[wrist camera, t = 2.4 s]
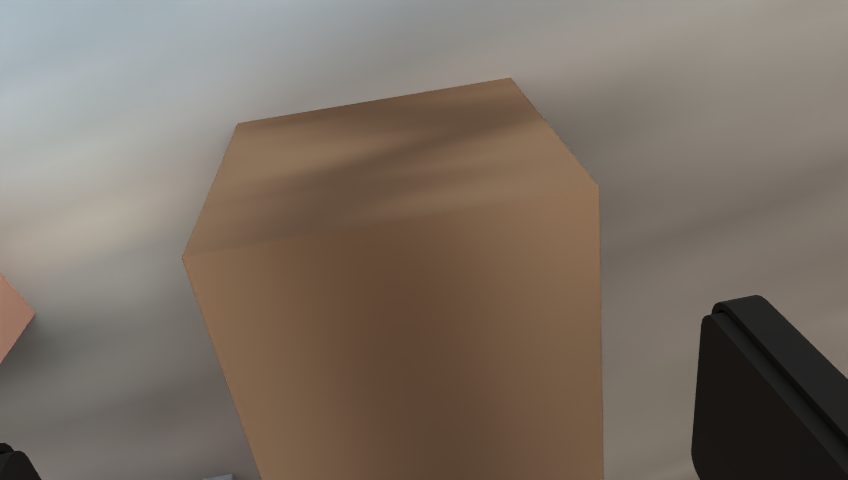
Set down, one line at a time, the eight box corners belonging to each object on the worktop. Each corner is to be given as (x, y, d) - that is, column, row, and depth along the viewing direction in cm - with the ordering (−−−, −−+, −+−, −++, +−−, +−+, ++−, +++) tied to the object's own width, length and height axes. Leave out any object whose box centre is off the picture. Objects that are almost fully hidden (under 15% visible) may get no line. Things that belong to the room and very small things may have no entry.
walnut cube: (509, 76, 15) (598, 186, 10) (527, 301, 18) (603, 479, 13) (238, 121, 15) (181, 257, 10) (300, 341, 18) (282, 538, 13)
